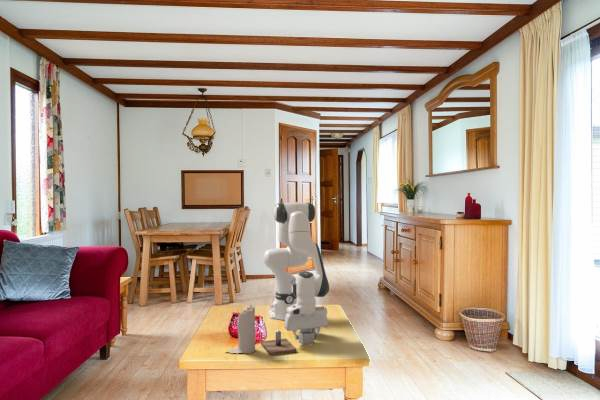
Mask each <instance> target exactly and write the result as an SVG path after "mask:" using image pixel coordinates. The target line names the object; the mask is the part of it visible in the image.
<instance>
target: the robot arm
mask: <svg viewBox="0 0 600 400" xmlns="http://www.w3.org/2000/svg"><path fill="white" fill-rule="evenodd" d="M273 217H274V220H275V221H276V222H277V223H279V225H278V236H277V238H278V241H279V242H280V243H281V244H282V245H285V246H286V247H281V248H280V247H278V248H270V249H267V250H266V251H265V252H264V254H263V263H264V265H265V266H266V267H267V268H268V269H269V270H271V271H272V273H273V275H274V278H275V283H276V284H275V286H276V292H275V293H274V295H275V299H274V300H273V302H272V304H270V305H269V308H270V310H268V315H269V318H270V319H271V320H273V319H274V320H282V321H283V320H284V329H285V330H286V331H288V332H290V331H291V332H292V334H293V335H294V340H295V341H297V340H298V341H299V334H297V331H300V330H302V329H310V328H316V332H315V333H314V338H318V337H319V333H320V331H321V328H326V327H328V324H329V323H328V316H327V315H328V309H327V307H325V306H323V305H322V306H317V304H316V297H317V298H324V297H325V296H327V294H328V293H329V292H330V283H329V281H328V277H327V274H326V270H325V266H324V261H323V257H322V252H321V250H320V247H319V245H318V243H316V242H315V241H314V239H313V237H312V234H311V225H310V223H311V222H313V221H314V219H315V217H316V207H315V206H314V204H313V203H311V202H302V201H294V202H293V201H292V202H291V201H290V202H279V203H276V204H275V206H274V208H273ZM309 257H310V258H311V259H312V262H313V265H314V269H315V273H316V274H315V275H314V273H312V272H309V271H300V272H299V273H298V274H297V276H295V275H293V274H292V273H289V272H287V271H286V268H298V267H303V266H305V265H307V262H308V260H309Z"/></svg>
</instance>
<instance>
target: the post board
mask: <svg viewBox="0 0 600 400" xmlns="http://www.w3.org/2000/svg"><path fill="white" fill-rule="evenodd" d="M260 345H261V347H262V348H263V350H265V352H266V353H267V354H268V355H269V357H272V356H279V355H287V354H294V353H297V351H298V350H297V348H296V347H295V346H294V345H293V344H292V342H291V341H289V340H288V338H281V346H276V339H270V340H262V341H260Z"/></svg>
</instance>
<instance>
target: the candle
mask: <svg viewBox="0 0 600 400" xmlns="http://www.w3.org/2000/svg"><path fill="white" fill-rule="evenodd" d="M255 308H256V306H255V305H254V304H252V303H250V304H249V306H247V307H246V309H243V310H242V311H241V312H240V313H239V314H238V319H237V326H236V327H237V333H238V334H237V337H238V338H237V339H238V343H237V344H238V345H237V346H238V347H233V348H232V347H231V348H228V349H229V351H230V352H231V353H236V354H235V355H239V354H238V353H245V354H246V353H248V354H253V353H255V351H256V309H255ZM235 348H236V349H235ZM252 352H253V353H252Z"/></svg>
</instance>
